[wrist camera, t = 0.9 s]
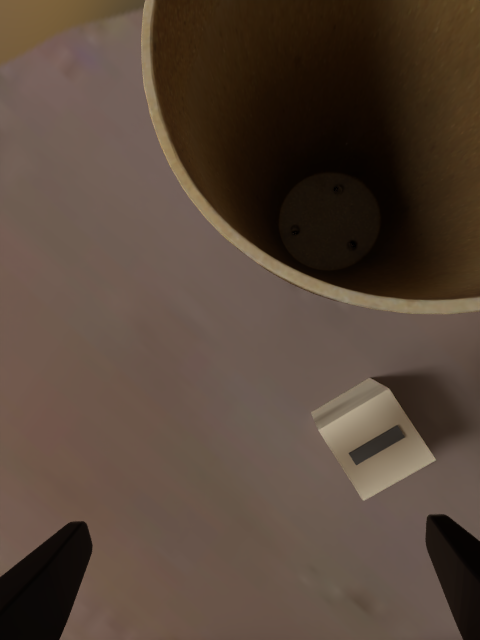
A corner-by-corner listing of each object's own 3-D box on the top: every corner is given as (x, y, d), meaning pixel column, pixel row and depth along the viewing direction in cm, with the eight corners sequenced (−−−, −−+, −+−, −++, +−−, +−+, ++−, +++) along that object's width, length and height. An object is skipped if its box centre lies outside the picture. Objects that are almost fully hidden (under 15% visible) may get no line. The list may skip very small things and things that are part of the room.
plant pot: (461, 155, 22) (917, -251, 7) (386, 350, 23) (646, 410, 7) (266, 98, 24) (253, -345, 8) (199, 281, 24) (59, 201, 8)
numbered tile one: (407, 436, 23) (437, 461, 19) (347, 470, 23) (364, 502, 19) (368, 377, 23) (389, 388, 19) (310, 412, 24) (318, 430, 19)
